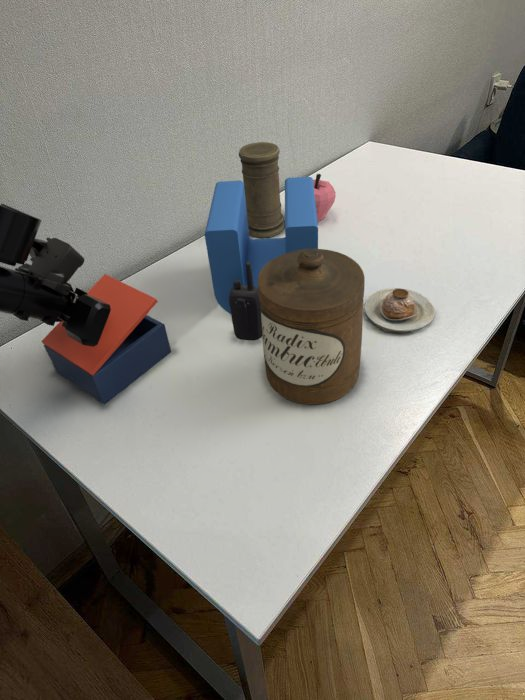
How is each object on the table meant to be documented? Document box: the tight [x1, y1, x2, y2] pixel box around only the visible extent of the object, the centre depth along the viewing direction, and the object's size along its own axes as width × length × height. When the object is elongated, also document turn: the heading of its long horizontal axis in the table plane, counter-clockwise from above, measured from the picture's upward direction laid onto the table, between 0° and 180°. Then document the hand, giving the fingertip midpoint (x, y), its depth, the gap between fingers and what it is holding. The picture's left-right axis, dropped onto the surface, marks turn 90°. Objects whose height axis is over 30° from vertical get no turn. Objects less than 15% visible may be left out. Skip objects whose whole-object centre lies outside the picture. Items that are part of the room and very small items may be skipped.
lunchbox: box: [43, 314, 172, 406], centre depth 83 cm, size 15×13×6 cm
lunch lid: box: [40, 273, 159, 376], centre depth 79 cm, size 15×13×1 cm
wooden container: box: [258, 248, 366, 405], centre depth 73 cm, size 15×15×22 cm
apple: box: [313, 173, 337, 222], centre depth 114 cm, size 10×9×10 cm
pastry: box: [364, 287, 435, 334], centre depth 88 cm, size 12×12×5 cm
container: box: [238, 141, 285, 239], centre depth 109 cm, size 9×9×18 cm
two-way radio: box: [229, 262, 263, 342], centre depth 83 cm, size 6×4×15 cm
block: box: [204, 176, 319, 315], centre depth 92 cm, size 18×18×18 cm
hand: (102, 313), depth 79 cm, fingers closed, pressing on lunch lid
